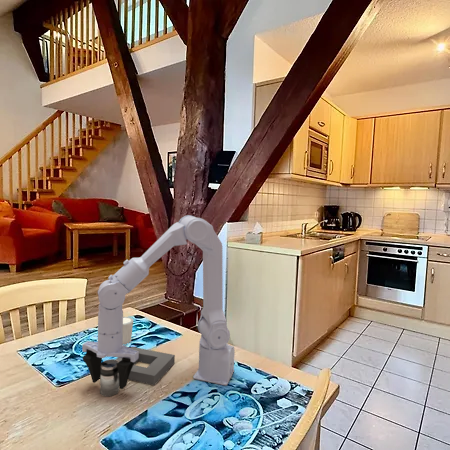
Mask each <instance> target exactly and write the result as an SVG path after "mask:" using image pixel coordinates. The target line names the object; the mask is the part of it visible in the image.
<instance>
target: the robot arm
mask: <svg viewBox="0 0 450 450" xmlns="http://www.w3.org/2000/svg"><path fill="white" fill-rule="evenodd" d="M187 240H188V241H189V242H191V243H192V244H195V246H197V247H198V248H199V249H201V251H202V282H203V283H202V288H203V289H202V294H203V295H202V298H203V300H202V303H203V307H202V309H201V310H200V318H199V320H198V322H197V330H198V332H199V333H200V334H201V336H200V339H199V345H198V348H199V349H198V368H197V371H196V372H195V373H194V374H193V376H192V379H193V380H198V381H203V382H207V383H211V384H217V385H222V386H228V384H229V382H230V380H231V378H232V376H233V374H234V373H235V369H234V368H235V346H233V345H230V344H228V343H229V341H230V339H231V337H230V336H231V334H230V330H229V329H228V325H227V319H226V316H225V313H224V309H223V297H224V296H223V287H224V285H223V281H224V280H223V243H222V241H221V240H220V238H219V236H218V234H217V233H216V231H215V230H214V225H212V224H210V223H209V222H208V221H207V220H206V219H204V218H201V217H196V216H194V215H191V214H190V215H184V216H182V217H181V218H180V219H179V221H177V222H175V223H173V224H172V225H171V226H170V227H169V228H168V229H167V230H166V231H165V232H164V233H163V234H162V235H160V236H159V238H158V239H157V240H156V241H155V242H154V243H153V244H152V245H150V247H149V248H148V249H147V250H146V251H145V252H144V253H143V254H142V255H141V256H140V257H132V258H130V259H129V260H128V259H126V260H124V261H123V266H122V267H121V268H120V269H117V271H116V272H115V273H114V274H110V275H109V276H108V279H106V280H103V282H102V283H100V285H99V287H98V290H97V295H98V302H99V304H98V314H97V341H91V340H90V341H89V340H87V341H86V342H84V343H82V349H81V350H82V353H85V354H84V355H83V356H82V360H83V362H84V364H85V365H86V367H87V369H88V370H89V374H90V376H91V381H92V383H93V384H95V383H96V382H98V381H100V365H101V363H102V362H103V359H105V358H106V357H108V358H110V357H111V358H122V360H121V361H120V362H119V363H117V364H116V366H117V368H118V373H119V390H123V389H124V388H125V387H126V386H128V385H127V384H128V381H129V379H128V378H129V374H130V372H131V369H132V367H133V365H134V363H135V361H136V360H138V359H139V351H136V350H133V349H131V347H129V346H127V345H126V344H124V345H123V317H124V310H123V304H124V303H125V300H126V295H127V294H129V293H131V292H132V291H133V290H134V289H135V288H136V287H138V285H139V284H140V283H141V282H143V280H144V279H146V278H147V277H148V276H149V274H150V267H151V266H152V265H154V264H155V263H156V262H157V261H159V259H161V258H162V257H163V256H164V255H166V254H167V253H168V252H169V251H170V250H171V249H172V248H173V247H176V246H177V247H178V246H184V245H185V246H186V245H188V242H187ZM233 372H234V373H233Z"/></svg>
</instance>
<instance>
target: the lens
mask: <svg viewBox="0 0 450 450" xmlns="http://www.w3.org/2000/svg"><path fill="white" fill-rule="evenodd" d="M117 363H119V361H118V360H116V358H115V359H113V358H112V359H105V360H104V361H103V360H102V362H101V365H100V379H99V382H100V383H99V387H100V388H99V394H100V395H101V396H103V397H112V396H114V395H117V394H118V393H119V391H120V388H119V373H118V368H117V366H116V364H117Z"/></svg>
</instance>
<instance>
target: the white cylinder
mask: <svg viewBox="0 0 450 450" xmlns="http://www.w3.org/2000/svg"><path fill="white" fill-rule="evenodd" d="M133 326H134V319H133V317H129V316H123V344H124V345H128V344H130V343H131V341H132V335H133ZM129 342H130V343H129ZM127 343H128V344H127Z"/></svg>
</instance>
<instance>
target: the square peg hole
mask: <svg viewBox="0 0 450 450" xmlns="http://www.w3.org/2000/svg"><path fill="white" fill-rule="evenodd" d="M130 348H131V349H133V350H136V351H139V359H138V360H136V361H135V363H134V365H133V367H132V369H131V372H130V374H129V378H128V381H129V380H130V381H133V382H139V383H141V384H142V383H143V384H146V385H152V386H155V385H157V383H158V382H159V381H160V380H161V379H162V378H163V377H164V376H165V374H166V373H167V372H169V370H170V369H171V368H172V367H173V366H174V365H175V361H176V360H175V357H176V356H175V354H172V353H166V352H163V351H162V352H161V351H155V350H150V349H146V348H141V347H135V346H131V347H130ZM115 360H118V361H119V362H120V361H121V360H122V358H118V357H116V358H115ZM138 362H140V363H143V364H148V366H146V367H145V366H142V365H138V364H137V363H138Z"/></svg>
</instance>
